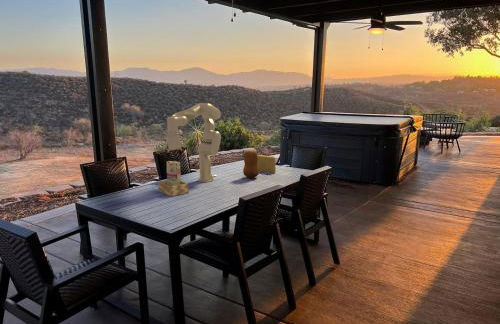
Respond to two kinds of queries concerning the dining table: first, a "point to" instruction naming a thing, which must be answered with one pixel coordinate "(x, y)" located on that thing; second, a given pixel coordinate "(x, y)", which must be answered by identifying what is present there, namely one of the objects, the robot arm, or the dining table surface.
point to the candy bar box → (173, 170)
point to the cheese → (266, 163)
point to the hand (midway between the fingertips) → (174, 156)
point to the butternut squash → (251, 164)
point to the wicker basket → (173, 188)
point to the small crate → (173, 182)
